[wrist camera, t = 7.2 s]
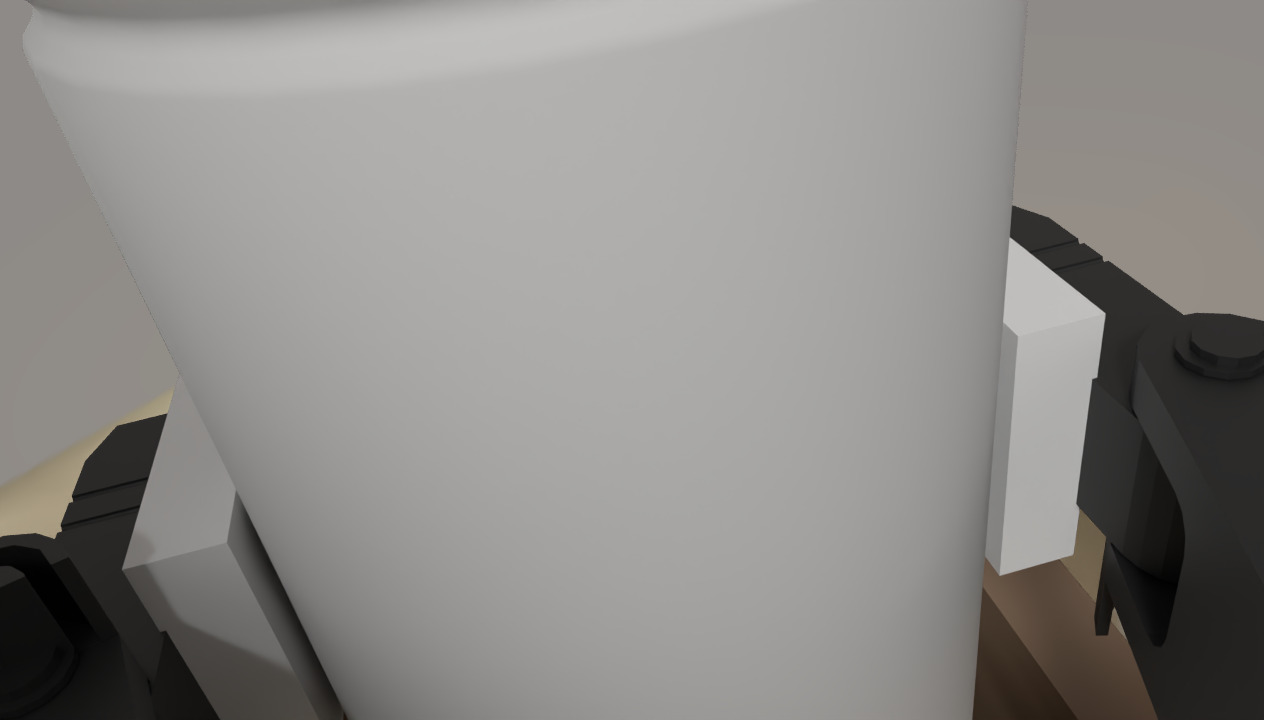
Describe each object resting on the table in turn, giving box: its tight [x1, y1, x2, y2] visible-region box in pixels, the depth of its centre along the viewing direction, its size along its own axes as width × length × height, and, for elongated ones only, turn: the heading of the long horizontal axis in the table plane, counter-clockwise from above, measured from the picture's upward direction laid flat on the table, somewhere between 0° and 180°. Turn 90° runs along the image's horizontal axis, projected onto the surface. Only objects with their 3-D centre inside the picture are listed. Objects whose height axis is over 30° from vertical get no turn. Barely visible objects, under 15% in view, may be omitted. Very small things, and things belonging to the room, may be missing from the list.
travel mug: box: [22, 0, 1028, 720], centre depth 10 cm, size 6×7×20 cm
